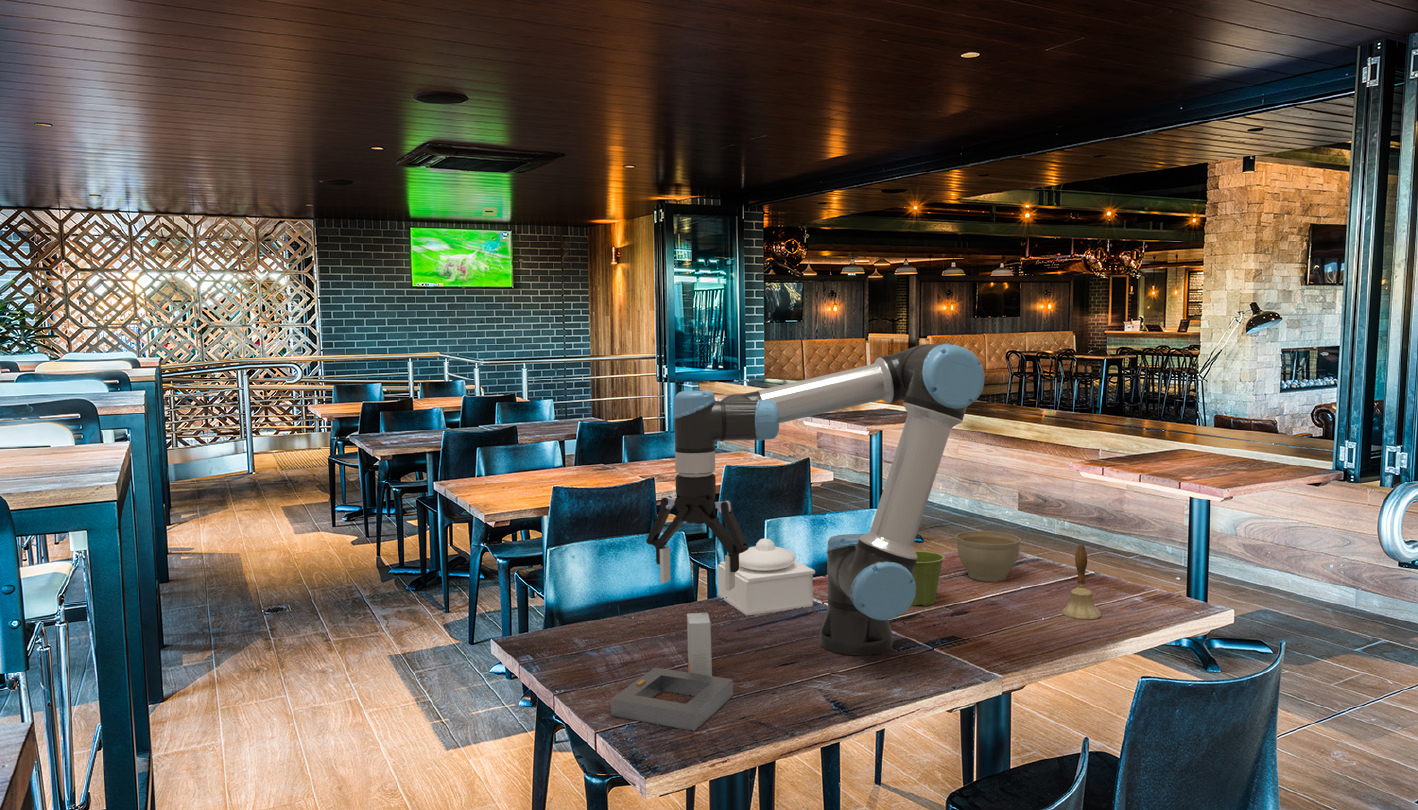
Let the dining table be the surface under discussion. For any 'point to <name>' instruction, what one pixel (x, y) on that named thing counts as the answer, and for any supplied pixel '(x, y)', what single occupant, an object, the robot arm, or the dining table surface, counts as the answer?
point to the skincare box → (699, 644)
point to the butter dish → (768, 581)
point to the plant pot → (926, 577)
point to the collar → (689, 716)
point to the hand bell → (1081, 592)
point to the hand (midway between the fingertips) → (697, 585)
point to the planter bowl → (987, 554)
